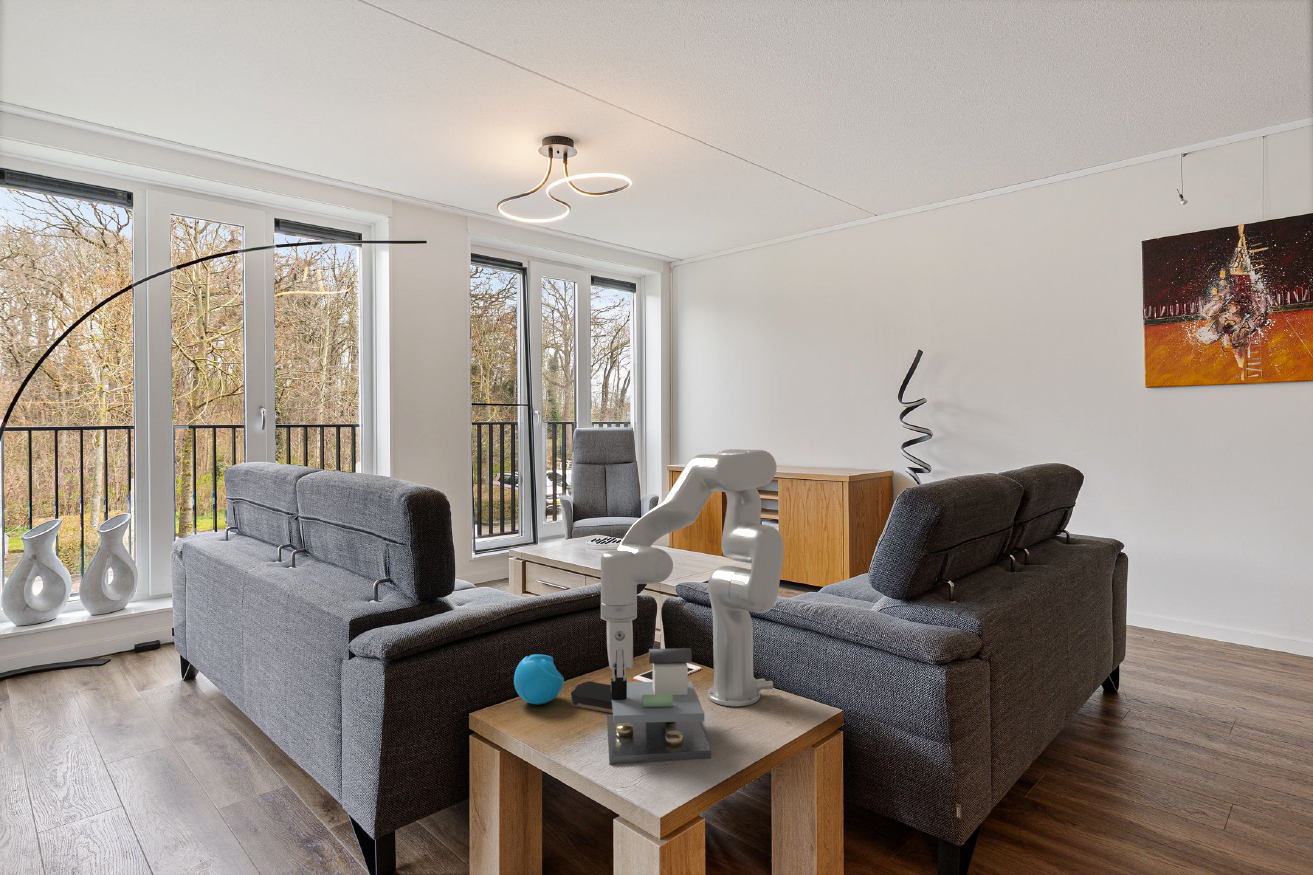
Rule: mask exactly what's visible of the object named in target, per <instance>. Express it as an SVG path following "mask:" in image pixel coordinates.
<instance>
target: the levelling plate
mask: <svg viewBox="0 0 1313 875" xmlns="http://www.w3.org/2000/svg"><path fill="white" fill-rule="evenodd" d="M692 658H693V654H692V648H691V647H690V648H689V647H686V648H649V649H648V664H652V670H653V682H638V681H627V699H626V700H612V710H613V713H612V714H613V722H614V723H645V722H684V721H700V722H705V711H704V709H703V706H702V704H701V701H700V699H699V697H698V695H697V692H696V690H695V688H694V684H693V682H692V680H689V679H688V678H689V677H688V676H689V675H688V666H687V663H689V664H692V662H693V659H692Z"/></svg>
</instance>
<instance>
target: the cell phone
mask: <svg viewBox="0 0 1313 875" xmlns="http://www.w3.org/2000/svg"><path fill="white" fill-rule="evenodd" d="M687 666H688V674H689V675H691V674H690V673H692V674H694V673H696V671H697V672H699V671H701V670H702V667H701V666H699V665H696V664H695V665H694V664H692V663H687ZM700 669H701V670H700ZM698 670H699V671H698ZM693 672H694V673H693ZM633 679H634V680H633V681H634V682H638V681H639V682H653V669H651V670H649V671H646V672H643V673H640V674H638V675H636V676H634V677H633Z"/></svg>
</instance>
